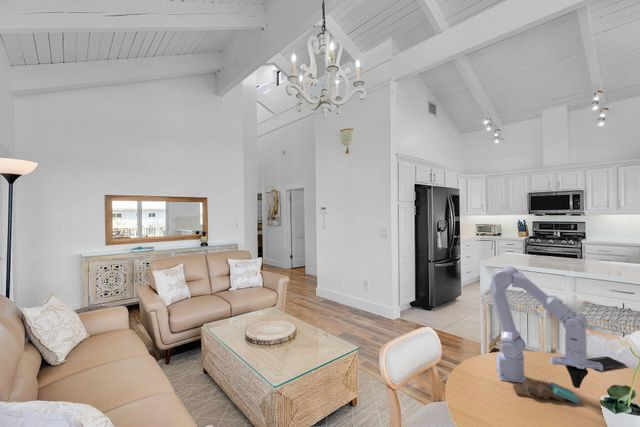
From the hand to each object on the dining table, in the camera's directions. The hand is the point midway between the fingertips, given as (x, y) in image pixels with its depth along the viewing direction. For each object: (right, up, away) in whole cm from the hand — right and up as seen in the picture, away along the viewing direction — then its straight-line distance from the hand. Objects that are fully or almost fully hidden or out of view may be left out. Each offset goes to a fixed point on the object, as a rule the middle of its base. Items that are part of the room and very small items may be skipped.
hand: (576, 386), depth 107 cm
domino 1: (-11, -5, +4) cm, 13 cm away
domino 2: (-8, -4, +3) cm, 10 cm away
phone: (+30, -4, +22) cm, 37 cm away
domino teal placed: (0, -4, 0) cm, 4 cm away
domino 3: (-4, -4, +2) cm, 6 cm away
